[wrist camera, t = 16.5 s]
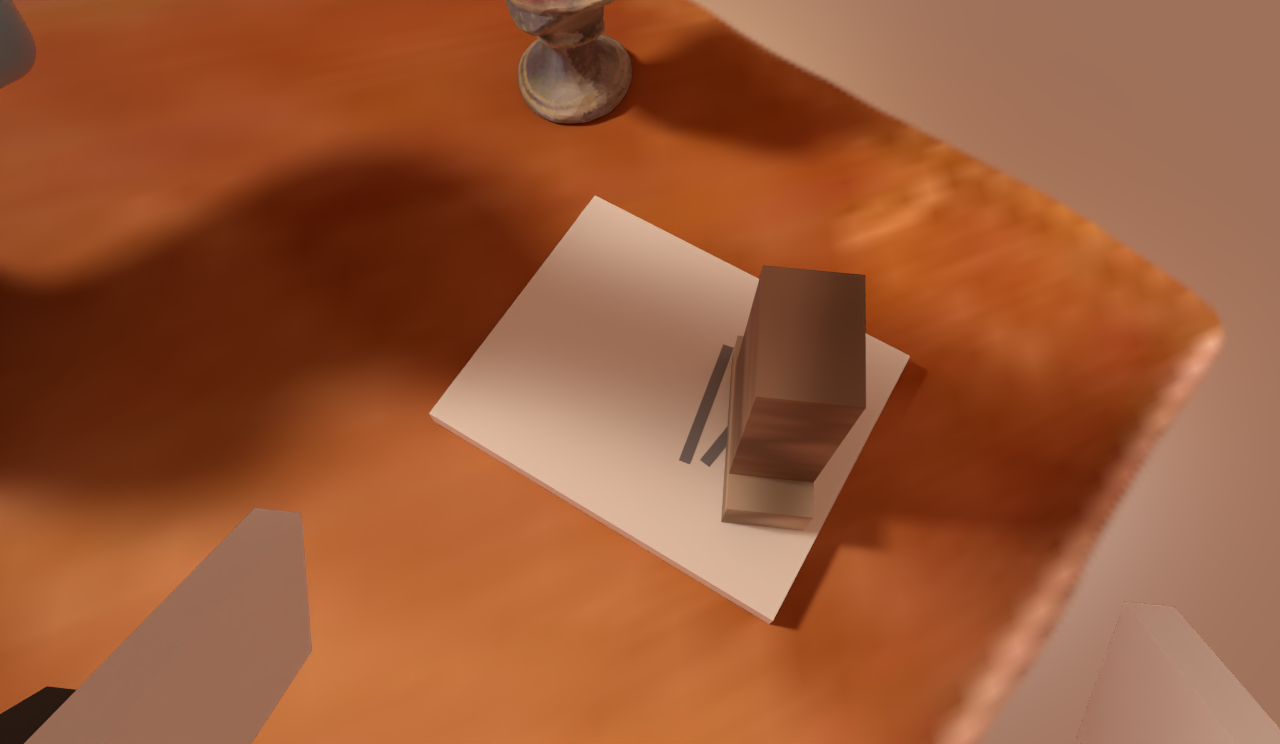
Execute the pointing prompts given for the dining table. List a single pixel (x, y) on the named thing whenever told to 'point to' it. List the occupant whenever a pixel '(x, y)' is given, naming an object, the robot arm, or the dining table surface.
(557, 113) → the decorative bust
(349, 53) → the dining table surface
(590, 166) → the dining table surface
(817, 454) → the block
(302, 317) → the dining table surface
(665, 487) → the marked board
